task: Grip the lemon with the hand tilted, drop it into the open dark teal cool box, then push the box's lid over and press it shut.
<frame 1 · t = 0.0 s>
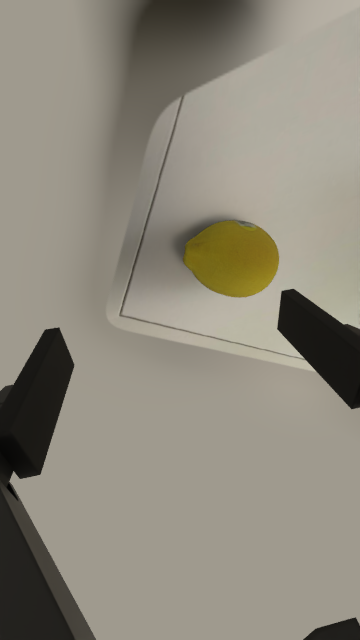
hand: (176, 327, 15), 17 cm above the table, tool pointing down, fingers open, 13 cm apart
lemon: (220, 248, 31), on the table
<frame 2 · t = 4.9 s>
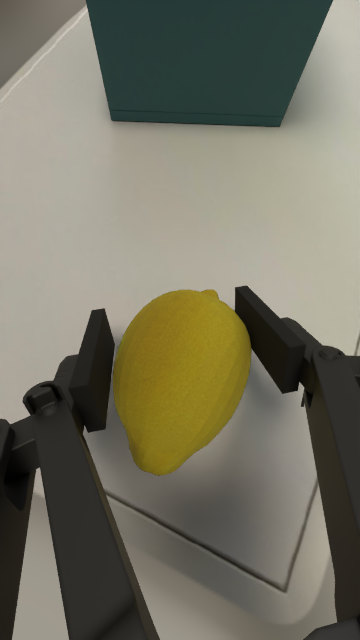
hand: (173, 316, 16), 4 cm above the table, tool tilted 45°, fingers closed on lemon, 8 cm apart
lemon: (177, 372, 19), on the table, touching gripper
cooler: (194, 70, 27), on the table
when the fingers open (11 cm above the table, at t = 14.4 s): lemon drops 5 cm, resting on cooler.
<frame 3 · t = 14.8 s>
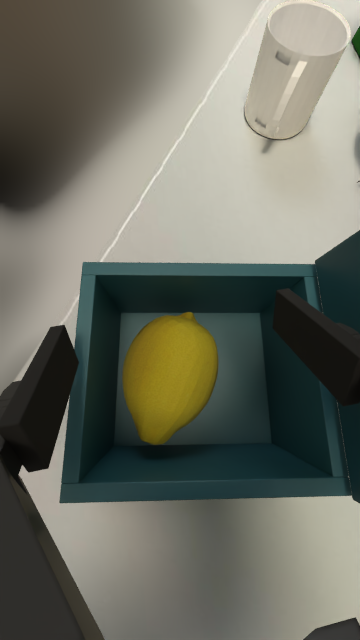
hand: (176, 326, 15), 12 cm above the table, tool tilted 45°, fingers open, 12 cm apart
lemon: (178, 375, 25), point 1 cm above the table, touching cooler
mug 2: (270, 124, 36), on the table
cooler: (191, 374, 27), on the table
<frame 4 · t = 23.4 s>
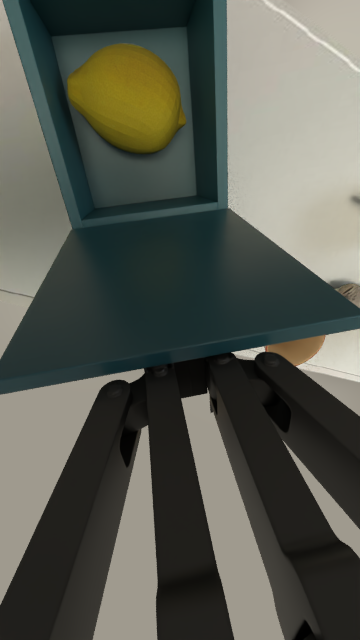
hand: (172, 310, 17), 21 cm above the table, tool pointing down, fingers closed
lemon: (132, 112, 28), point 1 cm above the table, touching cooler
mug: (256, 306, 44), on the table
cooler lid: (164, 261, 17), point 20 cm above the table, hinge at 97.0°, touching gripper
cooler: (135, 129, 29), on the table
decorative bird: (336, 292, 45), on the table
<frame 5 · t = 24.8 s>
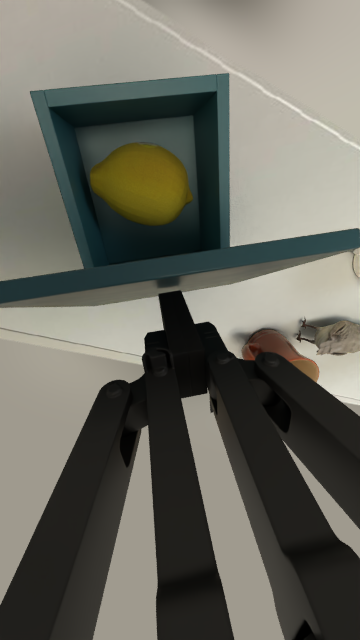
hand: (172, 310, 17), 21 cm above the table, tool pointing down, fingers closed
lemon: (143, 184, 31), point 1 cm above the table, touching cooler
mug: (255, 339, 47), on the table
cooler lid: (167, 284, 18), point 19 cm above the table, hinge at 63.4°, touching gripper
cooler: (146, 196, 32), on the table
decorative bird: (330, 326, 48), on the table
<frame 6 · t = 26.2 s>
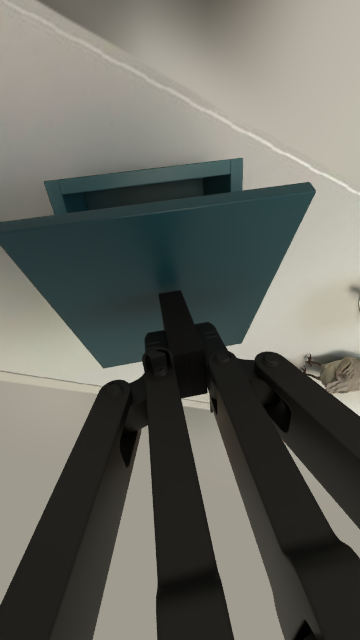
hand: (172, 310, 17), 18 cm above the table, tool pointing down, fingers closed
cooler lid: (169, 308, 19), point 15 cm above the table, hinge at 30.0°, touching gripper
cooler: (154, 247, 32), on the table
decorative bird: (335, 360, 48), on the table
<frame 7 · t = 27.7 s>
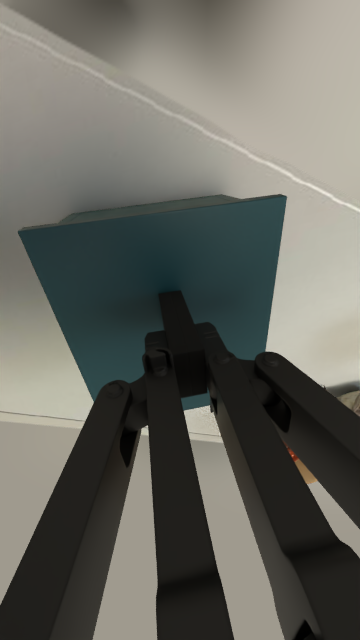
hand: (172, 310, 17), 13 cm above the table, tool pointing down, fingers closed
cooler lid: (173, 335, 19), point 12 cm above the table, hinge at 4.1°, touching gripper
cooler: (160, 283, 29), on the table
decorative bird: (350, 390, 46), on the table
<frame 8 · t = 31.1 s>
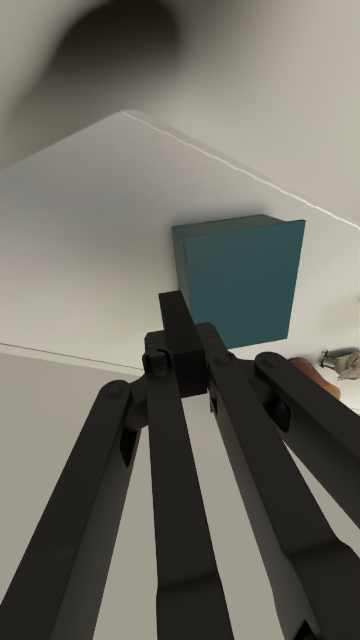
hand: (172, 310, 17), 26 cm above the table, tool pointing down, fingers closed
mug: (287, 366, 59), on the table
cooler lid: (242, 294, 35), point 11 cm above the table, hinge at 1.4°
cooler: (219, 271, 45), on the table
decorative bird: (346, 355, 61), on the table
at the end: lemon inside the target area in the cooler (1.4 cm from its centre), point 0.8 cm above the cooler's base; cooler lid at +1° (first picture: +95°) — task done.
